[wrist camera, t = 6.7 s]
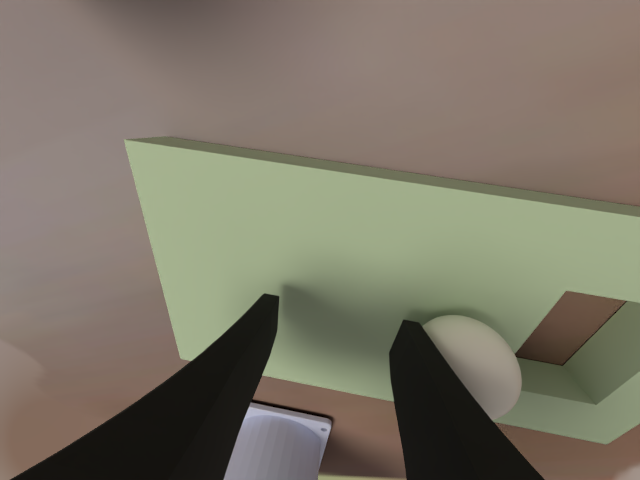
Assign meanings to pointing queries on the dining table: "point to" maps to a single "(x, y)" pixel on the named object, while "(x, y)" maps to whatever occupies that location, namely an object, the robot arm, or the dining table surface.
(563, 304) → the dining table surface
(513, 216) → the board with rectangular hole
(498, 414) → the ball
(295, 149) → the dining table surface
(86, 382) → the dining table surface
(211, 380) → the robot arm
